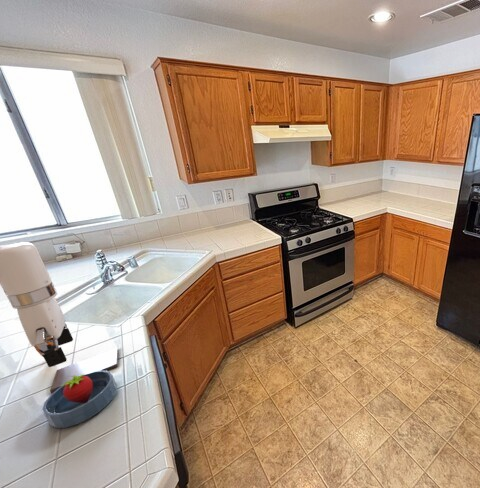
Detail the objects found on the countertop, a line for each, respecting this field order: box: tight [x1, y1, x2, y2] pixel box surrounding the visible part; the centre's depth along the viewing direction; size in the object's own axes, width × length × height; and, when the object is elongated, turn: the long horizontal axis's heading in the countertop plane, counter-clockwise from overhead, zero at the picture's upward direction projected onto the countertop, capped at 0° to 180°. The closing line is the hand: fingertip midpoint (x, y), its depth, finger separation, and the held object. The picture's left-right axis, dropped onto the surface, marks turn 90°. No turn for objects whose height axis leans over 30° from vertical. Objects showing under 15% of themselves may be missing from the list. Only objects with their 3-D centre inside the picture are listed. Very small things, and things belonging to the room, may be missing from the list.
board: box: [49, 347, 119, 394], centre depth 86 cm, size 16×10×1 cm, turn 127°
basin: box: [42, 370, 118, 429], centre depth 73 cm, size 14×14×5 cm
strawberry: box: [61, 374, 93, 403], centre depth 72 cm, size 6×8×10 cm
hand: (62, 352), depth 68 cm, fingers open, 9 cm apart
